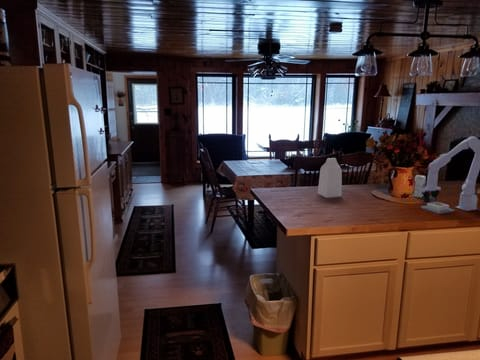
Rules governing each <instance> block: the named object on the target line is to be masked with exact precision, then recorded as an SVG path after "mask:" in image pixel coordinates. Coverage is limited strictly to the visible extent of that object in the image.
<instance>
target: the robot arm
mask: <svg viewBox="0 0 480 360" xmlns="http://www.w3.org/2000/svg"><path fill="white" fill-rule="evenodd" d="M469 148H470V149H471V150H473V152H474V157H473V159H472V162H471V164H470V165H471V166H470V168H469V171H468V174H467V177H466V179H465V181H464V183H463V184H462V185H461V190H462V192H460V194H459V202H458V206H455V208H456V209H460V210H463V211H466V212H467V211H468V212H470V211H475V210H478V208H477V206H478V196H477V195H476V194H475V193H476V182H477V178H478V176H479V172H480V139H479V138H478V137H476V136H474V135H471V136H469V137H467V138H466V139H464V140H463V141H461V142H459V143H458V144H457V145H456V146H454V147H453V148H452V149H451V150H450V151H449V152H447V153H441V154H440V155H439V156H438V157H437V158H436V159H433V161H432V162H430V163H429V164H428V170H427V171H428V172H427V178H426V186H425V187H424V188H423V189H422V191H421V192H422V194H423V201H424V204H425V203H428V202H429V197H430V196H432V197H435V201H436V200H437V198H438V196H439V195H440V193H441V189H442V188H441V187H440V186H438V180H439V179H438V178H439V171H440V170H441V169H440V168H442V167H444V166H445V165H447V164H448V163H450V162H451V160H452V157H454V156H456V155H457V154H458V153H460V152H461V151H463V150H468V149H469Z"/></svg>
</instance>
